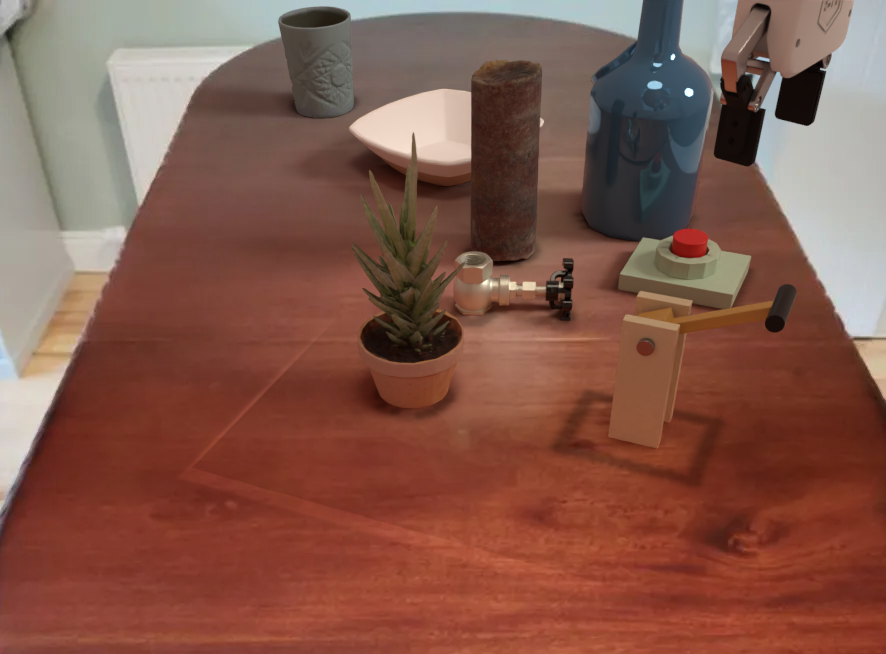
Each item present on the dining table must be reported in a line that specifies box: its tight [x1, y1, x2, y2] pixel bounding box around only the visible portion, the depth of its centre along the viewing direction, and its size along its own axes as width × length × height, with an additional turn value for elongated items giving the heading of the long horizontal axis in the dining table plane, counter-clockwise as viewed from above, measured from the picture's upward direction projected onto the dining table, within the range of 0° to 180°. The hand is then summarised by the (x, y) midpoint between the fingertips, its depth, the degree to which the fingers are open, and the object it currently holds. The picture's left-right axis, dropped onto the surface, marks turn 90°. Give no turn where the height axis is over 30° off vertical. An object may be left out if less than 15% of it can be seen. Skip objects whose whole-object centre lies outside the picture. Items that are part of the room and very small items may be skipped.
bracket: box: [608, 291, 693, 449], centre depth 84 cm, size 12×9×13 cm
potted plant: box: [351, 132, 466, 409], centre depth 85 cm, size 10×10×25 cm
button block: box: [617, 235, 752, 310], centre depth 107 cm, size 12×9×4 cm
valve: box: [452, 250, 575, 322], centre depth 101 cm, size 7×7×12 cm
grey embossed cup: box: [277, 5, 355, 119], centre depth 143 cm, size 10×10×12 cm
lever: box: [638, 283, 798, 334], centre depth 78 cm, size 12×5×2 cm, turn 66°
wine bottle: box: [580, 0, 715, 242], centre depth 108 cm, size 14×13×30 cm
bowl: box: [348, 88, 545, 187], centre depth 130 cm, size 22×22×5 cm
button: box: [671, 228, 709, 258], centre depth 105 cm, size 4×4×2 cm
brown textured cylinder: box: [470, 59, 543, 262], centre depth 106 cm, size 8×7×20 cm
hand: (764, 140), depth 77 cm, fingers open, 9 cm apart
